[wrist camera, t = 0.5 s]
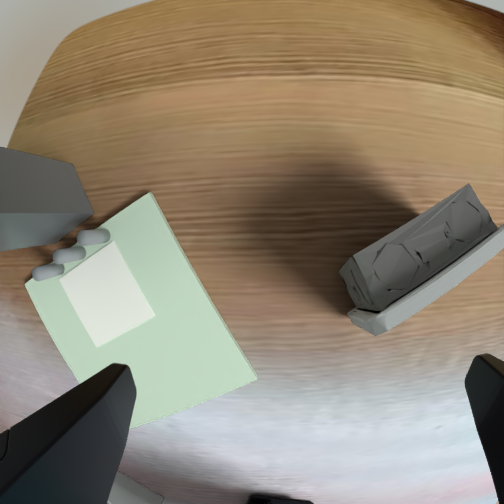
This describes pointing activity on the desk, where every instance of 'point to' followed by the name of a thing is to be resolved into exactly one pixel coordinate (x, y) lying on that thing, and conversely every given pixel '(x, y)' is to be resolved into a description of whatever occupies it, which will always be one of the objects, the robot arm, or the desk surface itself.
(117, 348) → the board
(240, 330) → the desk surface
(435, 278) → the electrical switch
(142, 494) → the grey beveled box
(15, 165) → the plug block
